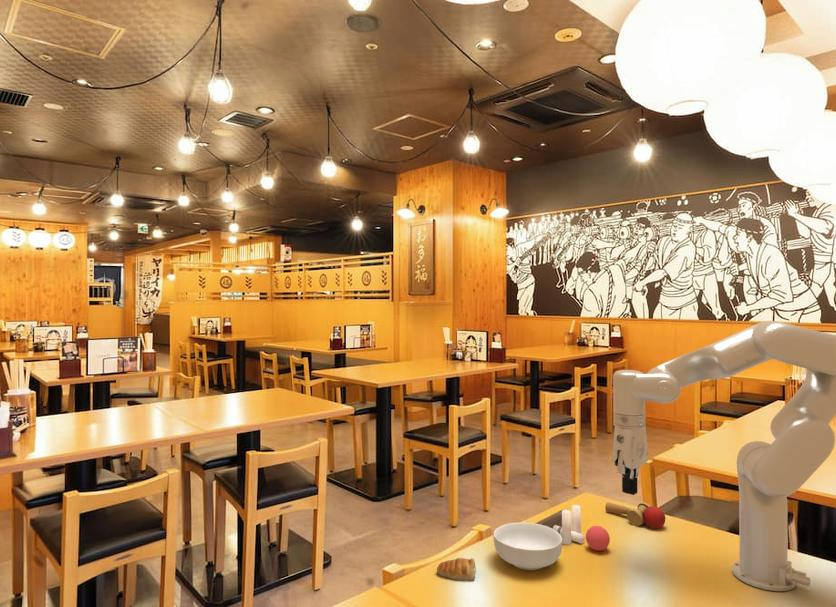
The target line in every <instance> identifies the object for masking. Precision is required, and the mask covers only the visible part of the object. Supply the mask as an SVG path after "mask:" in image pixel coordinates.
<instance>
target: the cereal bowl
mask: <svg viewBox="0 0 836 607" xmlns="http://www.w3.org/2000/svg"><path fill="white" fill-rule="evenodd" d="M535 523H536V522H535ZM535 523H534V522H525V521H524V522H523V521H521V522H512V523H511V522H509V523H505V524H502V525H500V526H498V527H497V528H495V529H494V531H493V545H494V549H495V551H496V552H497V554H498V556H499V557H500V558H501V559H503V560H504V562H506V563H508V564H510V565H513V567H516V568H517V569H520V570H524V571H536V570H537V571H538V570H539V569H542V568H545V567H549V566H551V565H552V564H554V563H556V561H557V560H558V559H559V558H560V556H561V553H562V549H563V543H562V537H561V535H560V534H559V533H558V532H557V531H556V530H554V529H552V528H550V527H547V526H544V525H540V524H535Z"/></svg>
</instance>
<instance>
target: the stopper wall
mask: <svg viewBox="0 0 836 607" xmlns="http://www.w3.org/2000/svg"><path fill="white" fill-rule="evenodd" d="M562 510H563V509H562ZM562 510H559V511H557V512H554V513H553V514H551V515H549V516H547V517H545V518H543V519H541V520H539V521H536V522H535V524H540V525H544V526H547V527H550V528H552V529H553V526H554V525H557V526H560V527H562Z"/></svg>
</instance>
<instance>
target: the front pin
mask: <svg viewBox="0 0 836 607" xmlns="http://www.w3.org/2000/svg"><path fill="white" fill-rule="evenodd" d="M553 529H554V530H556V531H557V532H558V533H559V534H560V535H561V537H562V527H560V526H557V525H554V526H553ZM585 540H586V536H585V534H583V533H581V534H580V533H577V532H574V531H572V530H571V542H572V541H573V542H576V543H578V544H581V545H583V544H584V542H585Z"/></svg>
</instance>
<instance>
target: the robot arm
mask: <svg viewBox="0 0 836 607" xmlns="http://www.w3.org/2000/svg"><path fill="white" fill-rule="evenodd" d="M770 360H776V361H779V362H782V363H785V364H788V365H792V366H794V367H795V366H796V367H799V368H803V369H805V370H806V371H805V372H806V374H805V378H804V381H803V383H801V386H800V387H799V388H798V390H797V391H796V392H795V394H793V396H792V397H791V398H790V399H789V400H788V401H787V402H786V403H785V405H783V407H782V408H781V409H780V410H779V411H778V412H777V414H776V415H774V417H772V420H771V423H770V426H769V427H770V433H771V434H772V436H773V438H774V440H773V441H772V443H768V442H766V441H762V440H761V441H759V440H756V441H750V442H748V443H745V444H744V445H743V446H742V447H741V448H740V450H739V451H738V454H737V457H736V470H737V471H736V472H737V482H738V494H739V495H738V498H739V502H738V503H739V504H738V505H739V507H738V508H739V510H738V512H739V513H738V515H739V518H738V519H739V520H738V521H739V528H738V529H739V534H738V535H739V560H738V561H736V562H734V563H733V564H732V565H731V567H732V568H731V570H732V571H731V572H732V573H733V576H735V577H736V578H737V579H738V580H740V581H741V582H743V583H745V584H747V585H749V586H752V587H754V588H758V589H761V590H766V591H772V592H787V591H791V590H793V589H794V588H796V586H797V583H798V584H799V585H802V586H806V587H808V588H809V587H810V586H811V577H809V576H807V572H804V571H801V570H796V569H795V568H793V567H792V561H790V560H788V558H789V557H788V556H789V555H788V554H789V552H788V551H789V550H788V545H789V544H788V516H789V515H788V498H787V497H788V496H790V495H792V494H794V493H796V492H797V491H798V490H799V489H800V488H801V487H802V486H804V484H805V483H806V482H807V481H808V480H809V478H811V476H813V475H814V473H815V472H816V471H817V470H818V469H819V468H820V467H821V466H822V465H823V464H824V462H825V461H826V460H827V459H828V458H829V456H830V455H831V454H832V452H833V450H834V447H835V445H836V444H835V442H836V437H835V433H834V430H833V428H832V426H830V423H831V422H832V421H833V419H834V418H836V334H832V333H828V332H824V331H820V330H819V331H818V330H815V329H810V328H806V327H804V326H803V327H802V326H798V325H796V324H795V325H794V324H792V323H786V322H783V321H776V320H765V321H761V322H757V323H756V324H754V325H752V326H749V327H747V328H745V329H743V330H740V331H738V332H736V333H733V334H732V335H729V336H726V337H724V338H723V339H720V340H718V341H716V342H713V343H711V344H709V345H706V346H704V347H703V346H702V347H700V348H698V349H695V350H693V351H690V352H689V353H685V354H683V355H680V356H677V357H674V358H673V359H670V360H668V361H666V362H663V363H661V364H659V365H657V366H655V367H653V368H651V369H650V370H649V371H647V373H644V372H642V371H639V370H636V369H618V370H616V371H615V372H614V373H613V376H612V386H613V387H612V393H613V394H612V396H613V399H612V400H613V401H612V402H613V403H612V404H613V406H612V409H613V412H612V414H613V424H612V425H613V426H614V430H613V432H614V433H613V441H612V442H613V444H612V461H613V465H614V466H615V467H617V470H616V473H618V474H620V477H621V491H622V493H623V494H628V495H632V496H634V495H636V494H638V477H639V467H642V466H644V465H645V464H646V463H648V460H649V450H648V449H649V447H648V446H649V445H648V436H647V435H648V434H647V429H646V428H647V427H646V402H652V403H657V404H670V403H673V402H675V401H676V400H678V398H679V397H680V395H681V391H682V389H683V388H685V387H687V386H690V385H692V384H696V383H699V382H703V381H709V380H720V379H721V380H722V379H726V378H729V377H730V378H731V377H732V376H735V375H737V374H740V373H742V372H743V371H744V372H745V371H746V370H748V369H751V368H753V367H756V366H758V365H760V364H761V365H762V364H763V363H766V362H768V361H770Z"/></svg>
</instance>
